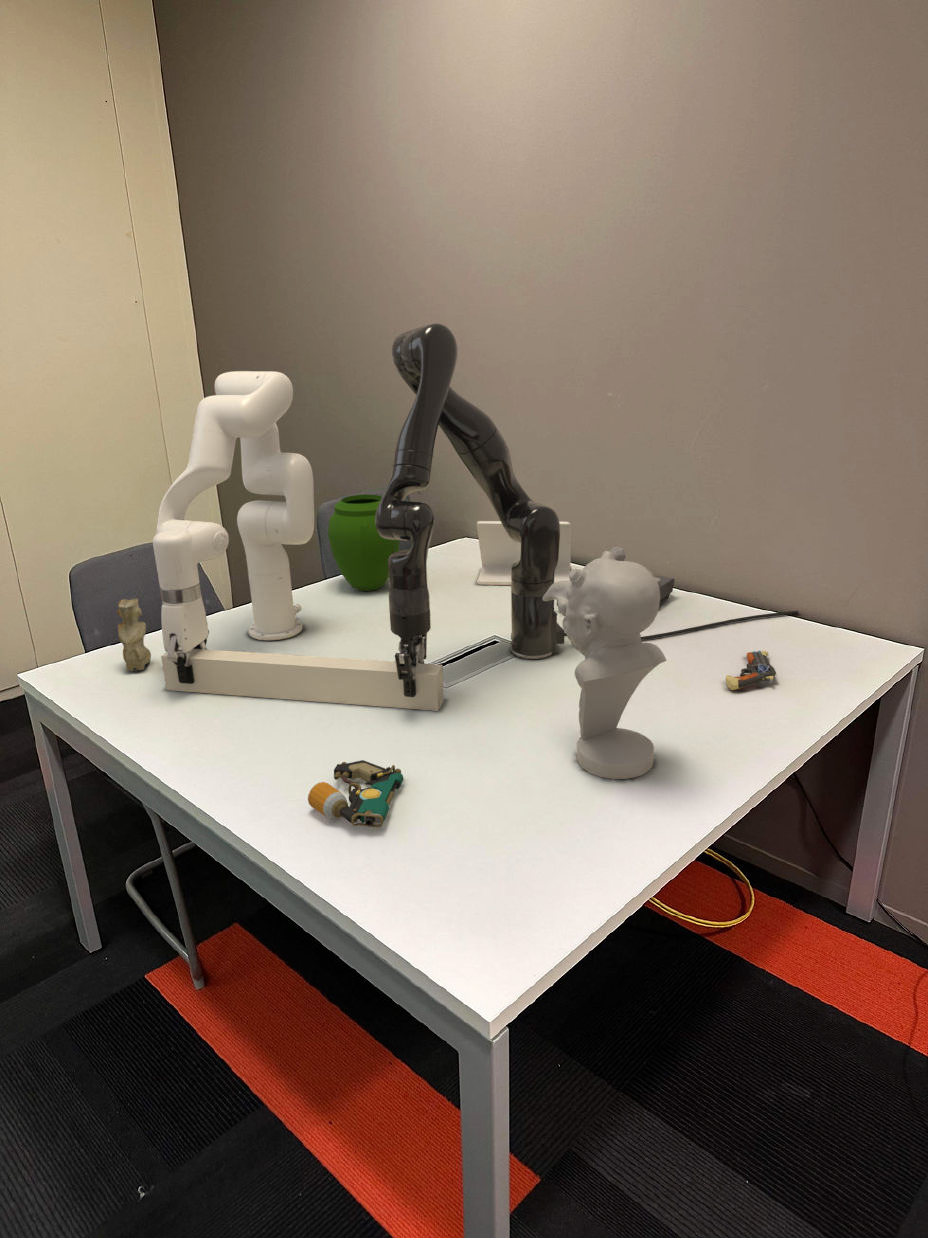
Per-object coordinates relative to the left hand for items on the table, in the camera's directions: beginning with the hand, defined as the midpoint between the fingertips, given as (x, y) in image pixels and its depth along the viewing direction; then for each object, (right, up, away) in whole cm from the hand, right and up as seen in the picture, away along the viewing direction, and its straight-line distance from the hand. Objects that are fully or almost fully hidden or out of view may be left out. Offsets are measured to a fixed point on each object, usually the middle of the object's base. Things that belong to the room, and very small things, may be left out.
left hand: (193, 676), depth 175 cm
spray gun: (+39, -17, -41) cm, 59 cm away
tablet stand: (+72, +24, +64) cm, 100 cm away
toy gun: (+113, 0, -1) cm, 113 cm away
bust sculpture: (+78, -11, -29) cm, 84 cm away
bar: (+23, -3, -4) cm, 24 cm away
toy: (+94, +15, +40) cm, 103 cm away
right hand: (+46, -2, -10) cm, 47 cm away
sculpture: (-16, +1, +11) cm, 19 cm away
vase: (+29, +20, +58) cm, 68 cm away
